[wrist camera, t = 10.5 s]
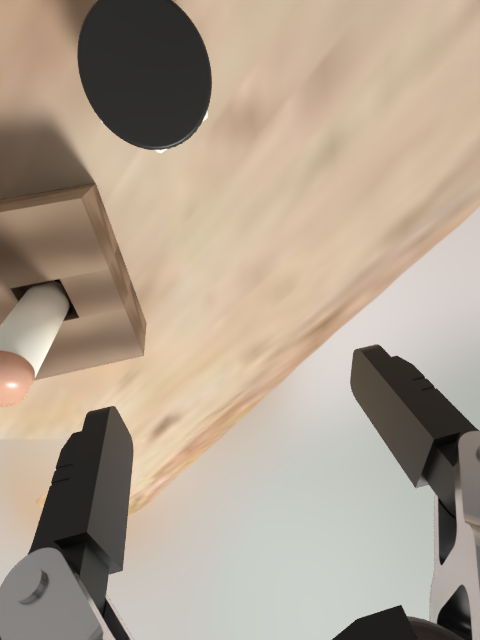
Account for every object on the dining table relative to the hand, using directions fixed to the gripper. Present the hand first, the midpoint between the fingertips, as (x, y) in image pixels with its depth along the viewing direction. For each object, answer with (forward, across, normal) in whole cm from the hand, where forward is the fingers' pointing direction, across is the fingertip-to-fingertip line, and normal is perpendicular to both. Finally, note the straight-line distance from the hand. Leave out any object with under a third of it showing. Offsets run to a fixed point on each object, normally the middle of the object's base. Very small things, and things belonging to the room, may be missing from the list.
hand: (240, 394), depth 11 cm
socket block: (+30, +16, +6) cm, 35 cm away
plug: (+25, +16, +6) cm, 30 cm away
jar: (+30, +1, -10) cm, 32 cm away
